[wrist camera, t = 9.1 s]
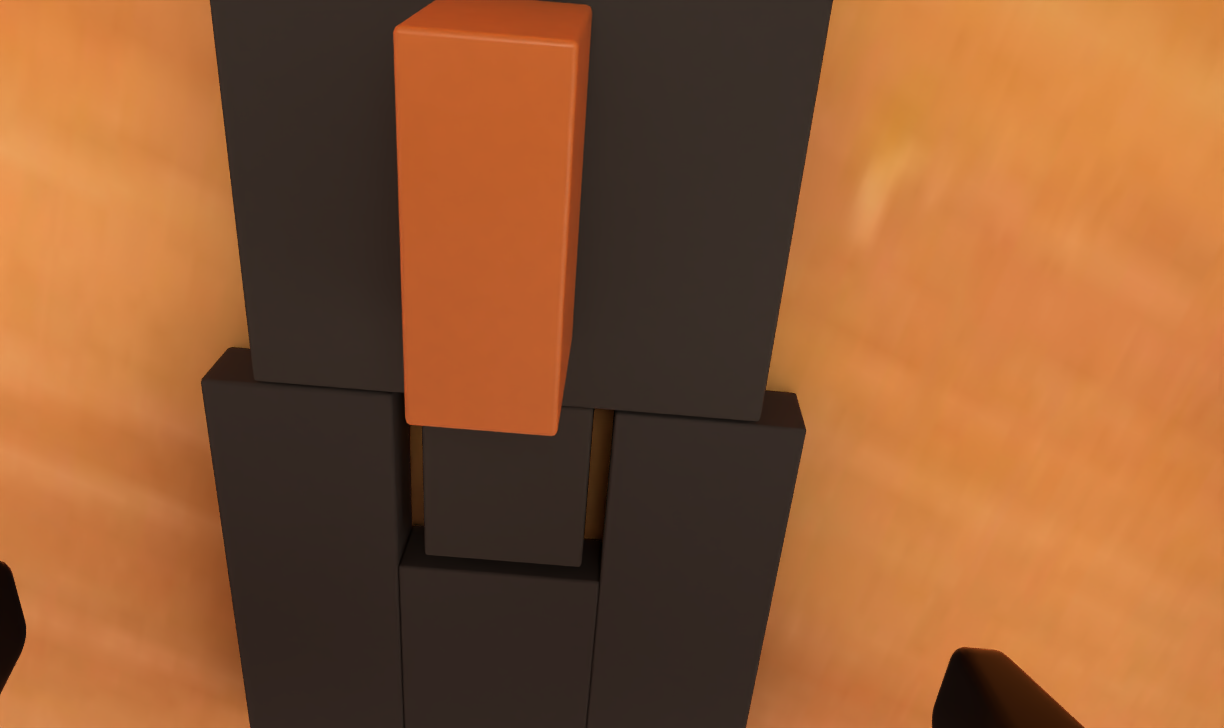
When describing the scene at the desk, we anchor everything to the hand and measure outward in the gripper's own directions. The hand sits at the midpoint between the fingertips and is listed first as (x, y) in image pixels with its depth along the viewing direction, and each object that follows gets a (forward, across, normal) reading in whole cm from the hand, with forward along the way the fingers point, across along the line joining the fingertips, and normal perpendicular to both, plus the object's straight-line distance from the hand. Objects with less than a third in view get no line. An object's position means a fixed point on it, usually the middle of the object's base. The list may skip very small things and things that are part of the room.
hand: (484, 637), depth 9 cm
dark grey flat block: (+11, +1, +1) cm, 11 cm away
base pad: (+11, +1, +8) cm, 14 cm away
